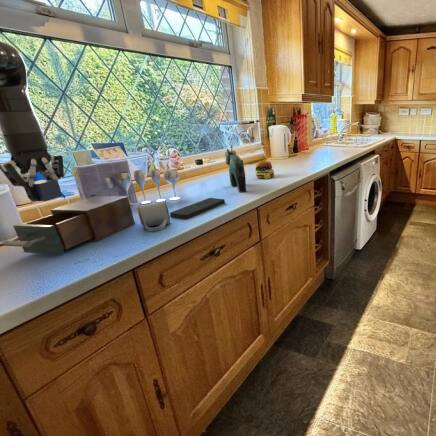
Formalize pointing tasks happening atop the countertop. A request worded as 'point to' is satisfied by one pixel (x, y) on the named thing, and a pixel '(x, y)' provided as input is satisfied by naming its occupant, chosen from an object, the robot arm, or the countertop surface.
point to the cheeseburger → (264, 170)
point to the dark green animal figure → (236, 170)
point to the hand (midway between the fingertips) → (46, 197)
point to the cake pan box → (102, 180)
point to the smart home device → (197, 208)
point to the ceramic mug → (154, 215)
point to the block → (47, 189)
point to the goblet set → (139, 176)
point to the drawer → (52, 233)
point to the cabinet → (102, 214)
